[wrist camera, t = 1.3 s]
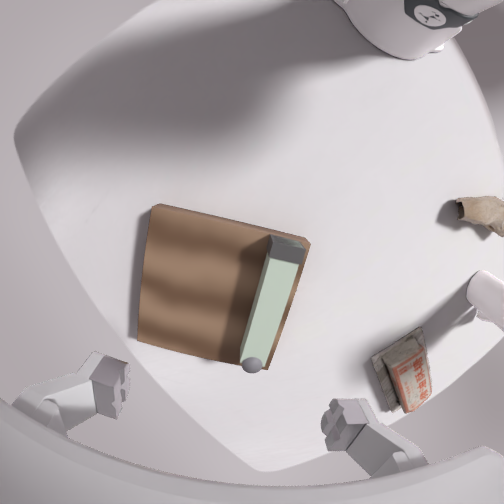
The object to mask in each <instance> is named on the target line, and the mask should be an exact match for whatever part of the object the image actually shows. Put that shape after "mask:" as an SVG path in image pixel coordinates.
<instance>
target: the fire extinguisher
mask: <svg viewBox="0 0 504 504" xmlns="http://www.w3.org/2000/svg"><path fill="white" fill-rule="evenodd" d="M466 298H467V300H468V301H469V302H470V303H471V304H472V305H473V306H474V307H476V308H477V309H478V310H479V311H478V313H477V316H476V317H478V318H479V319H481V320H482V321H488V322H493V323H494V324H496V325H497V326H498V327H499V328H500V329H501V330H502V331H503V332H504V282H503V281H502V280H500V279H498V278H497V277H495V276H494V275H492V274H491V273H489V272H487V271H486V270H483V271H478V272H477V273H476V274H475V275H474V276H473V277H472V279H471V281H470V283H469V285H468V287H467V296H466Z"/></svg>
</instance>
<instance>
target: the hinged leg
mask: <svg viewBox="0 0 504 504" xmlns="http://www.w3.org/2000/svg"><path fill="white" fill-rule="evenodd" d="M266 249H267V255H266V259H265V262H264V266H263V270H262V273H261V277H260V280H259V284H258V287H257V291H256V294H255V298H254V302H253V305H252V309H251V312H250V316H249V319H248V323H247V326H246V330H245V333H244V337H243V340H242V343H241V347H240V363H242V368H243V370H244V371H246V372H248V373H256V372H259V371H260V370H261V369H262V366H263V367H265V364H266V361H267V358H268V356H269V353H270V350H271V347H272V344H273V342H274V339H275V336H276V333H277V330H278V327H279V324H280V322H281V319H282V316H283V313H284V310H285V307H286V304H287V301H288V298H289V295H290V292H291V288H292V285H293V282H294V279H295V276H296V273H297V270H298V266H299V264H301V265H302V262H303V259H304V255H305V252H306V249H305V247H304V246H303V245H302V244H301V242H300V241H296V240H292V239H288V238H284V237H280V236H276V235H272V234H270V236H269V240H268V244H267V247H266Z"/></svg>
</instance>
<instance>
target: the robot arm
mask: <svg viewBox="0 0 504 504" xmlns="http://www.w3.org/2000/svg"><path fill="white" fill-rule="evenodd" d="M334 1H335V2H336V3H337V4H338V5H339V6H341V7H342V8H343V9H344V10H345V12H346V13H347V15H348V17H349V18H350V20H351V22H352V23H353V25H354V26H355V27H356V28H357V30H358V31H359V32H360V33H361V34H362V35H363V36H364V37H365V38H366V39H367V40H368V41H370V42H371V43H372V44H374V45H375V46H376V47H378V48H379V49H381V50H383V51H384V52H386V53H388V54H390V55H393V56H395V57H398V58H402V59H408V60H414V59H419V58H421V57H423V56H425V55H426V54H427V53H429V52H440V51H442V50H443V49H444V43H445V42H446V41H448V40H449V39H451V38H452V37H453V36H455V35H456V34H458V33H459V32H460V31H461V30H462V26H463V25H464V24H465V25H466V24H468V23H470V22H471V21H472V20H473V19H475V18H476V17H477V16H478V14H479V12H481V11H483V10H485V9H487V8H490V7H492V6H494V5H496V4H498V3H501V2H503V1H504V0H334ZM129 372H130V364H129V363H127V362H124V361H121V360H118V359H115V358H113V357H110V356H107V355H104V354H101V353H99V352H96V351H94V352H92V353H91V355H90V356H89V357H88V359H87V360H86V361H85V363H84V364H83V365H82V366H81V368H80V369H79V370H78V372H77V373H76V374H75V373H70V374H67V375H64V376H61V377H58V378H55V379H52V380H49V381H45V382H42V383H38V384H35V385H32V386H28V387H26V388H25V389H24V390H23V391H22V393H21V394H20V395H19V396H18V398H17V399H16V400H15V401H14V402H13V404H12V405H10V404H8V403H7V402H5V401H4V400H2V399H1V398H0V504H504V457H503V456H502V455H501V454H499V453H498V452H496V451H494V450H492V449H490V448H488V447H485V446H478V447H475V448H473V449H470V450H468V451H466V452H463V453H461V454H458V455H455V456H453V457H450V458H447V459H444V460H442V461H439V462H436V463H433V464H428V462H427V460H426V458H425V457H424V455H423V453H422V451H421V450H420V448H419V447H418V446H417V445H415V444H413V443H412V442H410V441H409V440H407V439H406V438H404V437H402V436H401V435H399V434H398V433H396V432H395V431H393V430H392V429H390V428H389V427H387V426H386V425H384V424H383V423H379V422H378V420H377V418H376V416H375V414H374V412H373V410H372V408H371V406H370V405H369V403H368V401H367V400H366V399H333V400H332V401H331V402H330V404H329V407H330V409H329V410H327V411H326V412H325V413H324V415H323V416H322V420H321V429H322V432H323V433H324V434H325V435H326V436H327V437H326V438H325V443H326V446H327V449H328V451H346V452H347V453H348V454H349V455H350V456H351V457H352V458H353V459H354V460H355V461H356V462H357V463H358V464H359V465H360V466H361V467H362V468H363V469H364V470H365V471H366V472H367V473H368V474H369V475H370V476H371V477H370V478H369V479H366V480H359V481H352V482H344V483H335V484H324V485H308V486H261V485H245V484H234V483H224V482H217V481H209V480H203V479H197V478H192V477H186V476H182V475H176V474H172V473H168V472H164V471H160V470H155V469H152V468H148V467H145V466H141V465H138V464H134V463H131V462H128V461H125V460H122V459H119V458H116V457H114V456H111V455H108V454H105V453H103V452H100V451H98V450H95V449H93V448H90V447H88V446H86V445H83V444H81V443H79V442H76V441H74V440H72V439H70V438H68V435H67V433H66V431H68V430H70V429H71V428H73V427H75V426H77V425H78V424H80V423H82V422H84V421H85V420H87V419H89V418H91V417H92V416H94V415H96V414H97V413H99V414H102V415H105V416H108V417H111V418H114V419H118V416H119V414H120V412H121V410H122V402H124V401H125V400H126V399H127V396H128V393H129V389H130V379H129V377H128V374H129Z"/></svg>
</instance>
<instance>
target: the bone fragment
mask: <svg viewBox="0 0 504 504" xmlns="http://www.w3.org/2000/svg"><path fill="white" fill-rule="evenodd" d="M502 199H503V198H502ZM458 202H462V204H463V207H461V206H459V211H458V212H459V216H458V219H457V220H464V221H468V222H470V223H472V224H480V225H483V226H484V227H485V228H486V229H488V230H490V231H492V232H495V233H497V234H498V235H499V236H501V237H504V202H503V201H501V200H500V199H498V198H496V197H495V196H494V197H491V196H484V197H478V198H477V197H476V198H475V197H474V198H473V197H470V198H469V197H466V198H465V197H464V198H458V199H457V200H456V204H458Z"/></svg>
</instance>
